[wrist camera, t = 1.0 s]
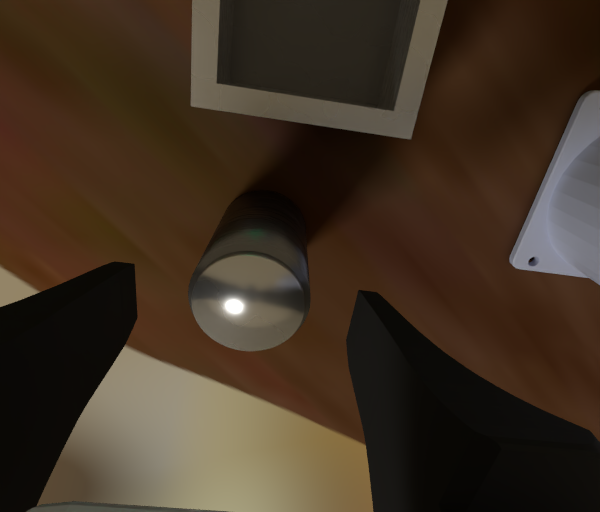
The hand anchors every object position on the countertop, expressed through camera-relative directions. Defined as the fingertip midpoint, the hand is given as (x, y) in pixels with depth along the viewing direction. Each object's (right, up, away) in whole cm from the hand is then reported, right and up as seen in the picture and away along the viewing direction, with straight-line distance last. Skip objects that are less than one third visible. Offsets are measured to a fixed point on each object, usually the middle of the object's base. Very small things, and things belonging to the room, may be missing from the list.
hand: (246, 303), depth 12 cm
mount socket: (+2, +11, +2) cm, 11 cm away
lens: (0, +3, +6) cm, 6 cm away
